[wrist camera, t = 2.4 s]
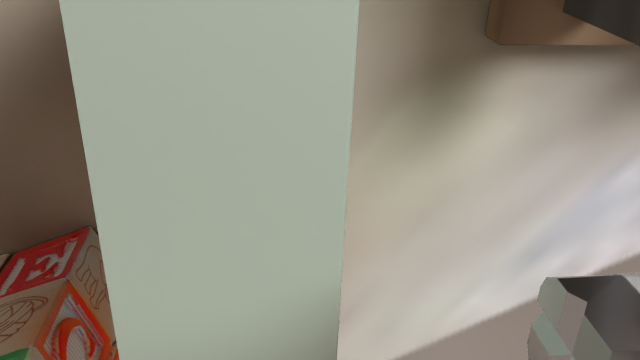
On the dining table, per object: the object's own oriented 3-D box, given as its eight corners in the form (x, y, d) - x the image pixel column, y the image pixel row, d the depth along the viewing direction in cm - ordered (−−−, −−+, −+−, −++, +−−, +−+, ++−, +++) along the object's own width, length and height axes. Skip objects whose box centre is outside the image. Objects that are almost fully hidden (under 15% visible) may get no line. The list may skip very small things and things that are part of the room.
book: (180, 193, 20) (130, 438, 12) (154, -95, 16) (45, -54, 7) (297, 190, 21) (335, 423, 12) (302, -91, 17) (366, -47, 8)
